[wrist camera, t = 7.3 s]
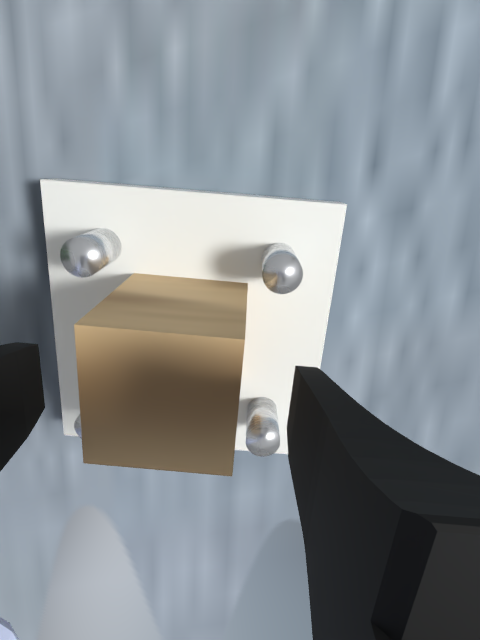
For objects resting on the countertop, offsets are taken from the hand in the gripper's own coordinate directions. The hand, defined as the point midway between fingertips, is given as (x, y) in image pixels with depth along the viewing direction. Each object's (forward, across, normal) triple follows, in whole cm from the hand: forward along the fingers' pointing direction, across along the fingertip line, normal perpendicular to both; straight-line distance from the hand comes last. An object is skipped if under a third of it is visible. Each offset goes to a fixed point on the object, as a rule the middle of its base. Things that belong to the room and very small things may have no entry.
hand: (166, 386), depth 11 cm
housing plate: (+5, 0, 0) cm, 5 cm away
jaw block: (+4, 0, 0) cm, 4 cm away
